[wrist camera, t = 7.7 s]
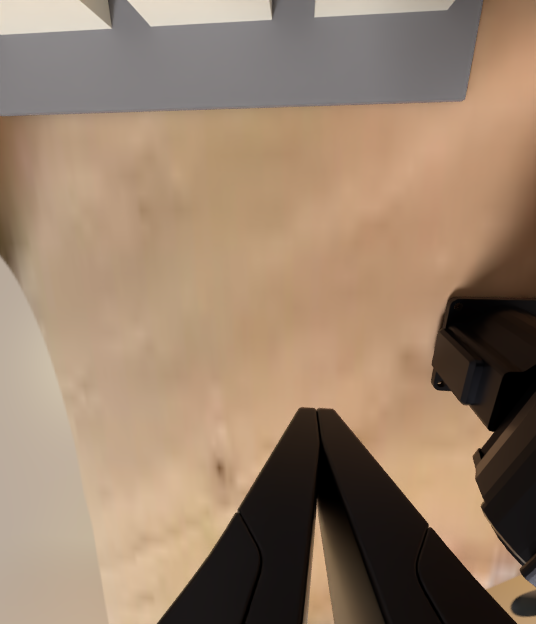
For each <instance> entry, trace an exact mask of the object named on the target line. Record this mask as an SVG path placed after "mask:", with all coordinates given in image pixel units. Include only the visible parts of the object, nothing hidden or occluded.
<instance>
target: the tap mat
mask: <svg viewBox="0 0 536 624" xmlns="http://www.w3.org/2000/svg"><path fill="white" fill-rule="evenodd" d="M108 4H109V11H110V18H111V24H112V29H97V30H79V31H61V32H43V33H25V34H7V35H0V116H19V115H50V114H82V113H113V112H144V111H176V110H207V109H238V108H270V107H301V106H332V105H364V104H395V103H426V102H458V101H463V100H465V97H466V91H467V86H468V81H469V75H470V70H471V64H472V59H473V53H474V48H475V42H476V37H477V32H478V26H479V21H480V15H481V10H482V4H483V0H455V1H454V2H453V4H452V5H451V6H450V7H449V8H448V10H439V11H421V12H403V13H385V14H367V15H349V16H331V17H314V13H315V0H272V20H259V21H241V22H223V23H205V24H187V25H169V26H150V25H149V24H148V23H147V22H146V21H145V19H144V18H143V17H142V16H141V15H140V14H139V13H138V12H137V11H136V9H135V8H134V7H133V6H132V5H131V4H130V3H129V2H128V1H127V0H108Z"/></svg>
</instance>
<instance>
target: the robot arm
mask: <svg viewBox="0 0 536 624" xmlns="http://www.w3.org/2000/svg"><path fill="white" fill-rule="evenodd" d="M457 303H460V305H459V307H458V308H454V306H455V304H457ZM432 366H433V368H434V369H433V374H432V379H431V383H432V385H433V387H434V388H435V389H436V390H440V391H452V392H453V394H454V395H455V396H456V398H457V399H458V400H459V401H460V402H461V403H462V404H463V405H469V406H470V407H471V409H472V410H473V411H474V412H475V414H476V415H477V416H478V417H479V419H480V420H481V421H482V422H483V424H484V425H485V426H486V427H487V429H488V430H489V431H492V432H494V433H493V434H492V436H491V437H490V438H489V440H488V441H487V442H486V443H485V445H484V446H483V447H482V449H480V448H479V449H478V450H477V451H476V452H475V454H474V455H473V460H474V464H475V468H476V476H475V479H476V482H477V484H478V487H479V489H480V492H481V494H482V497H483V499H484V502H483V503H482V504H481V508H482V511H483V513H484V516H485V517H486V518H487V520H488V521H489V523H490V524H491V526H492V528H493V530H494V531H495V533H496V535H497V537H498V538H499V540H500V541H501V542H502V543H503V545H504V546H505V547H506V549H507V550H508V551H509V552H510V553H511V554H512V556H513V557H514V558H515V559H516V560H517V561H518V562H519V563H520V564H521V565H522V567H521V568H520V572H521V574H522V575H523V577H524V578H525V579H526V580H528V581H529V582H530V583H531V584H533V585H534V586H535V587H536V298H496V297H453V298H451V299H450V300H449V301H448V303H447V307H446V312H445V316H444V321H443V326H442V329H441V330H440V331H439V332H438V335H437V340H436V345H435V350H434V355H433V360H432ZM439 381H443V382H442V383H441V384H438V382H439ZM316 507H317V508H318V516H319V523H320V530H321V537H322V544H323V550H324V557H325V564H326V570H327V577H328V584H329V591H330V597H331V604H332V611H333V617H334V624H517V623H516V622H515V621H514V620H513V619H512V618H511V617H510V616H509V615H508V614H507V612H506V611H505V610H504V609H503V608H502V607H501V606H500V605H499V604H498V603H497V602H496V601H495V600H494V598H492V596H491V595H490V594H489V593H488V592H487V591H486V590H485V589H484V588H483V587H482V586H481V584H480V583H479V582H478V581H477V580H476V579H475V578H474V577H473V576H472V575H471V573H470V572H469V571H468V570H467V569H466V568H465V566H464V565H463V564H462V563H461V562H460V561H459V559H458V558H457V557H456V556H455V555H454V554H453V553H452V551H451V550H450V549H449V548H448V547H447V546H446V544H445V543H444V542H443V541H442V539H441V538H440V537H439V536H438V535H437V533H436V532H435V531H434V530H433V529H432V528H431V527H429V525H428V523H427V522H426V520H425V519H424V518H423V517H422V515H421V514H420V513H419V512H418V511H417V509H416V508H415V507H414V506H413V505H412V503H411V502H410V501H409V500H408V499H407V497H406V496H405V495H404V494H403V492H402V491H401V490H400V489H399V488H398V486H397V485H396V484H395V483H394V482H393V480H392V479H391V478H390V477H389V476H388V474H387V473H386V472H385V471H384V469H383V468H382V467H381V466H380V465H379V463H378V462H377V461H376V460H375V459H374V457H373V456H372V455H371V454H370V453H369V451H368V450H367V449H366V448H365V446H364V445H363V444H362V443H361V442H360V440H359V439H358V438H357V437H356V436H355V434H354V433H353V432H352V431H351V430H350V428H349V427H348V426H347V425H346V423H345V422H344V421H343V420H342V419H341V417H340V416H339V415H338V414H337V413H336V411H335V410H333V409H327V408H318V409H317V411H316V409H315V408H306V407H301V408H299V409H298V411H297V412H296V414H295V416H294V417H293V419H292V421H291V422H290V424H289V425H288V427H287V429H286V430H285V432H284V434H283V435H282V437H281V439H280V440H279V442H278V444H277V445H276V447H275V449H274V450H273V452H272V454H271V455H270V457H269V459H268V460H267V462H266V464H265V465H264V467H263V468H262V470H261V472H260V473H259V475H258V477H257V478H256V480H255V482H254V483H253V485H252V487H251V488H250V490H249V492H248V493H247V495H246V497H245V498H244V500H243V502H242V503H241V505H240V507H239V508H238V513H235V514H234V516H233V518H232V519H231V521H230V523H229V524H228V526H227V528H226V529H225V531H224V532H223V534H222V536H221V537H220V539H219V540H218V542H217V543H216V545H215V546H214V548H213V549H212V551H211V552H210V554H209V556H208V557H207V558H206V560H205V561H204V562H203V564H202V565H201V566H200V568H199V569H198V571H197V572H196V573H195V575H194V576H193V577H192V579H191V580H190V581H189V583H188V584H187V585H186V587H185V588H184V589H183V591H182V592H181V593H180V595H179V596H178V597H177V598H176V600H175V601H174V602H173V604H172V605H171V606H170V607H169V609H168V610H167V611H166V613H165V614H164V615H163V617H162V618H161V619H160V620H159V622H158V623H157V624H307V618H308V606H309V594H310V582H311V570H312V558H313V546H314V533H315V521H316ZM428 527H429V528H428Z"/></svg>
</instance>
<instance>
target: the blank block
mask: <svg viewBox="0 0 536 624" xmlns="http://www.w3.org/2000/svg"><path fill="white" fill-rule="evenodd" d="M127 1H128V2H129V3H130V4H131V5H132V6H133V7H134V8H135V9H136V11H137V12H138V13H139V14H140V15H141V16H142V17H143V18H144V19H145V21H146V22H147V23H148V24H149V25H150V26H169V25H187V24H205V23H223V22H241V21H259V20H272V0H127Z"/></svg>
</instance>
